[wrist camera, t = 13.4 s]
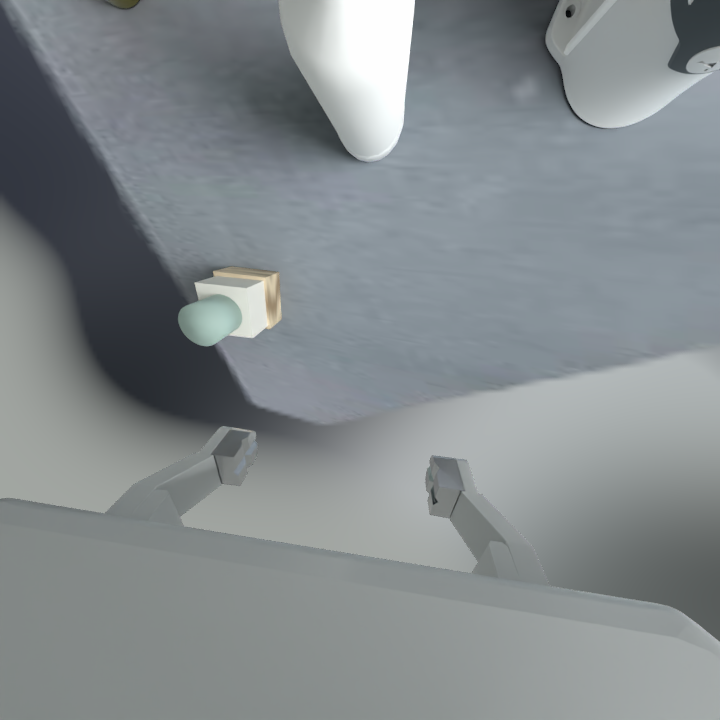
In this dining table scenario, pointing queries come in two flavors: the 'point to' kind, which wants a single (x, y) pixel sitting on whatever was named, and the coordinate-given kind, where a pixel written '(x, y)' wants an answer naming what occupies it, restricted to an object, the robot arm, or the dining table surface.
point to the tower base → (269, 287)
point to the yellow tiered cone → (123, 3)
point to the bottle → (354, 65)
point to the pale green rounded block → (210, 319)
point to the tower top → (239, 301)
